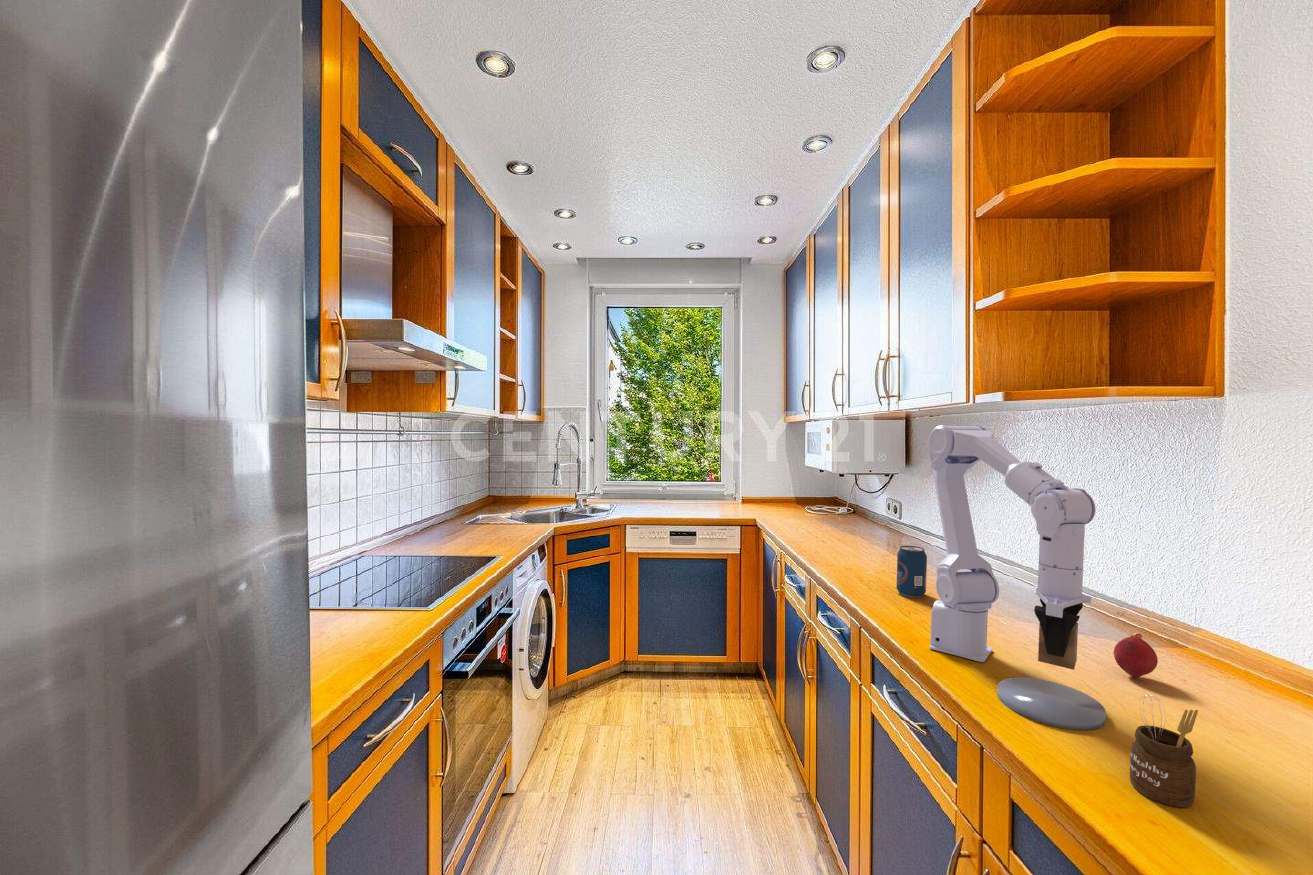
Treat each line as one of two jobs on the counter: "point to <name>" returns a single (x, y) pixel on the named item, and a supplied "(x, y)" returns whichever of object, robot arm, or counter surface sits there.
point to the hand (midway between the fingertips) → (1057, 649)
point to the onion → (1135, 656)
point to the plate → (1051, 703)
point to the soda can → (911, 571)
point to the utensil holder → (1164, 762)
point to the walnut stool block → (1070, 653)
